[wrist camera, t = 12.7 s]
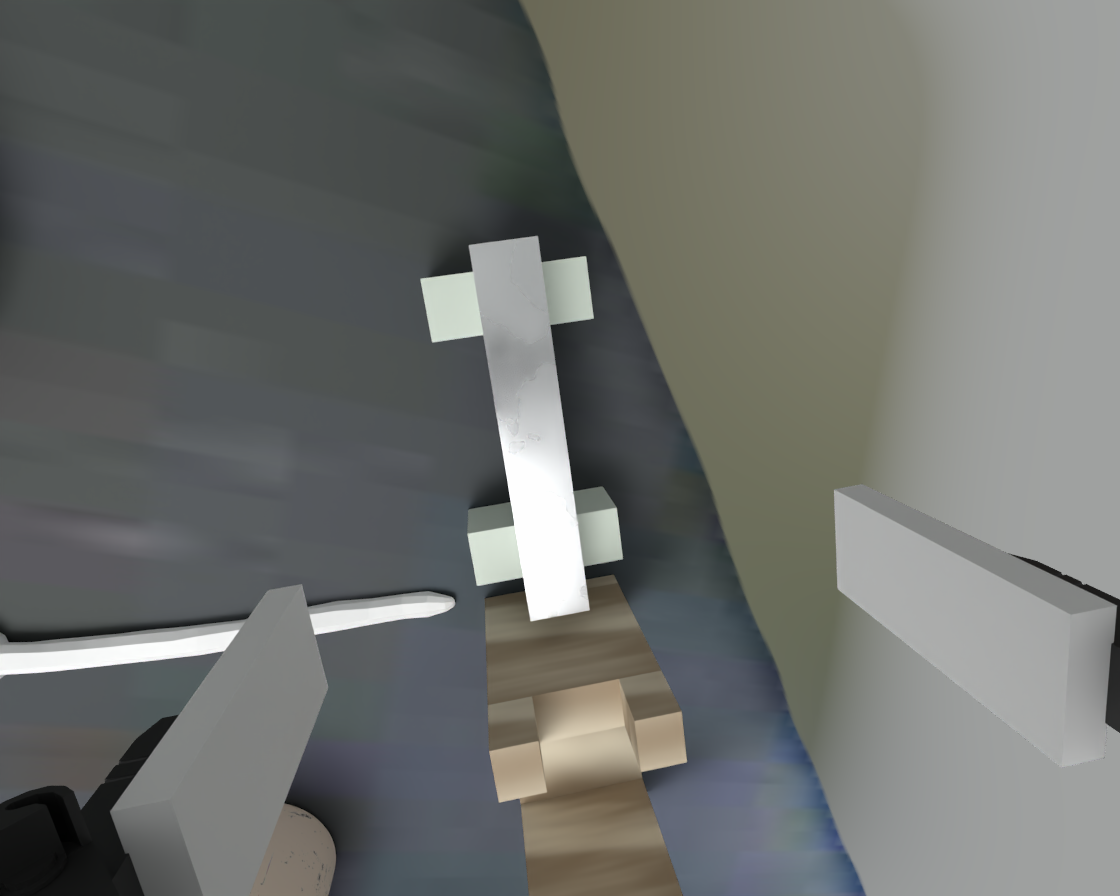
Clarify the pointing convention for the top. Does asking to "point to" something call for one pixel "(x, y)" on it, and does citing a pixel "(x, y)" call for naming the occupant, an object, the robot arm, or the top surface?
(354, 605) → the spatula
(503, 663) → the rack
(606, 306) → the top surface
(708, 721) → the top surface
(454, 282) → the rest
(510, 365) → the rail
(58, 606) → the top surface
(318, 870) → the teacup with lid
